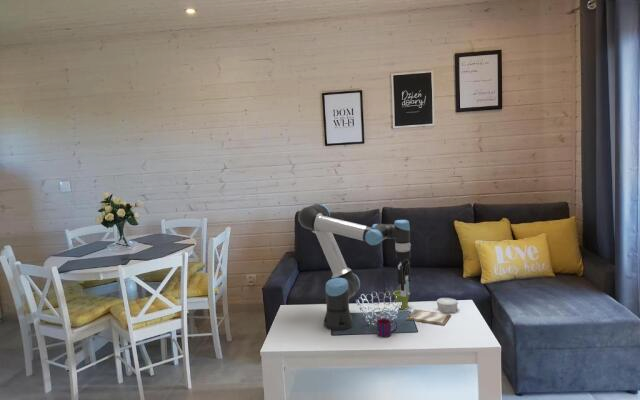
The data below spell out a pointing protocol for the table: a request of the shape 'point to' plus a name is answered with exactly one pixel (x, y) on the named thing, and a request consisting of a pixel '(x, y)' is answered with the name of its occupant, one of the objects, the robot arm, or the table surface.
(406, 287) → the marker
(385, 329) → the mug
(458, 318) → the table surface
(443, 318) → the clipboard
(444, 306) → the ramekin
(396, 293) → the plant pot
